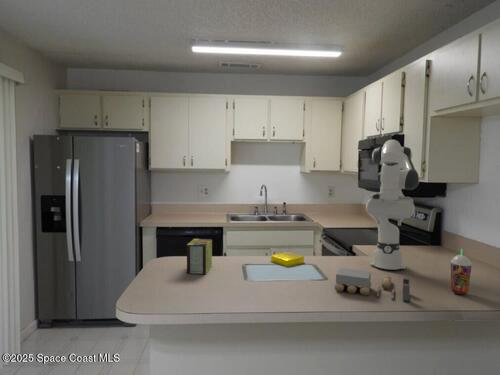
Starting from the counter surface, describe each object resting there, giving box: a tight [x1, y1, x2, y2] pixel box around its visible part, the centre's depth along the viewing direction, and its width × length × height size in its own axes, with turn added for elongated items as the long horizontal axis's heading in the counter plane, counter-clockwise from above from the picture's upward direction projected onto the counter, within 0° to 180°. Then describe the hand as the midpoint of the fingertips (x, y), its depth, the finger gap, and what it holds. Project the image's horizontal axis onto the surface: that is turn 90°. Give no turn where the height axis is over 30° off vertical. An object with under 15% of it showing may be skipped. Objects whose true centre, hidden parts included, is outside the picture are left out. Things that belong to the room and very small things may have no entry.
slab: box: [335, 267, 372, 288], centre depth 163 cm, size 12×14×4 cm
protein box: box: [186, 238, 213, 275], centre depth 191 cm, size 10×15×16 cm
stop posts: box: [402, 277, 411, 303], centre depth 154 cm, size 11×2×7 cm, turn 157°
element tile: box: [270, 251, 305, 268], centre depth 209 cm, size 15×15×5 cm
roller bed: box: [334, 281, 395, 301], centre depth 161 cm, size 12×25×4 cm, turn 67°
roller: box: [381, 274, 392, 291], centre depth 170 cm, size 12×4×4 cm, turn 157°
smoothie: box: [449, 248, 473, 295], centre depth 162 cm, size 8×8×20 cm
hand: (388, 224), depth 170 cm, fingers open, 8 cm apart
